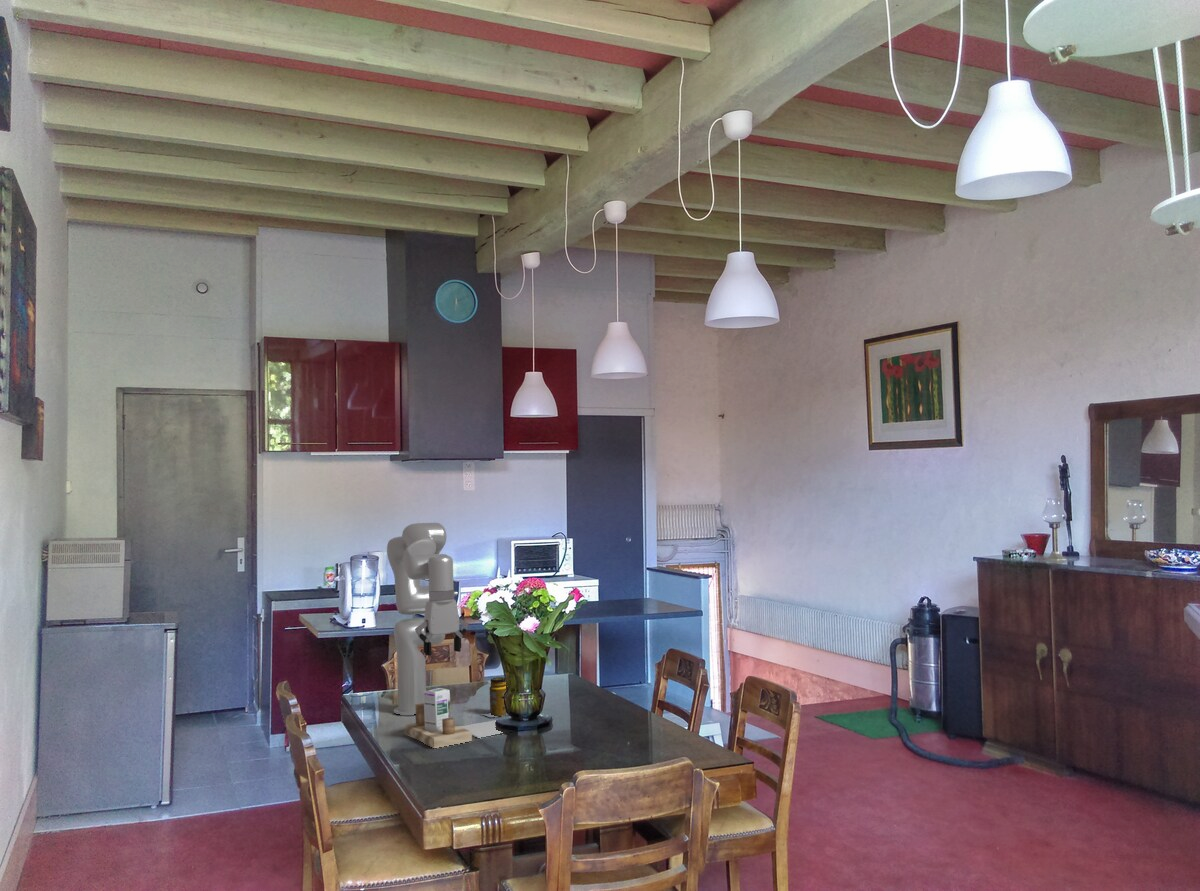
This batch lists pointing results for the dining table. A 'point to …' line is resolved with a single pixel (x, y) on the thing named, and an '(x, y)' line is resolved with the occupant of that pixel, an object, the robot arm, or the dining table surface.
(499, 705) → the condiment
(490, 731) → the grey mat
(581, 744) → the dining table surface
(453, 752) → the dining table surface
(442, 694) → the syrup box
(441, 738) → the wooden frame with peg
